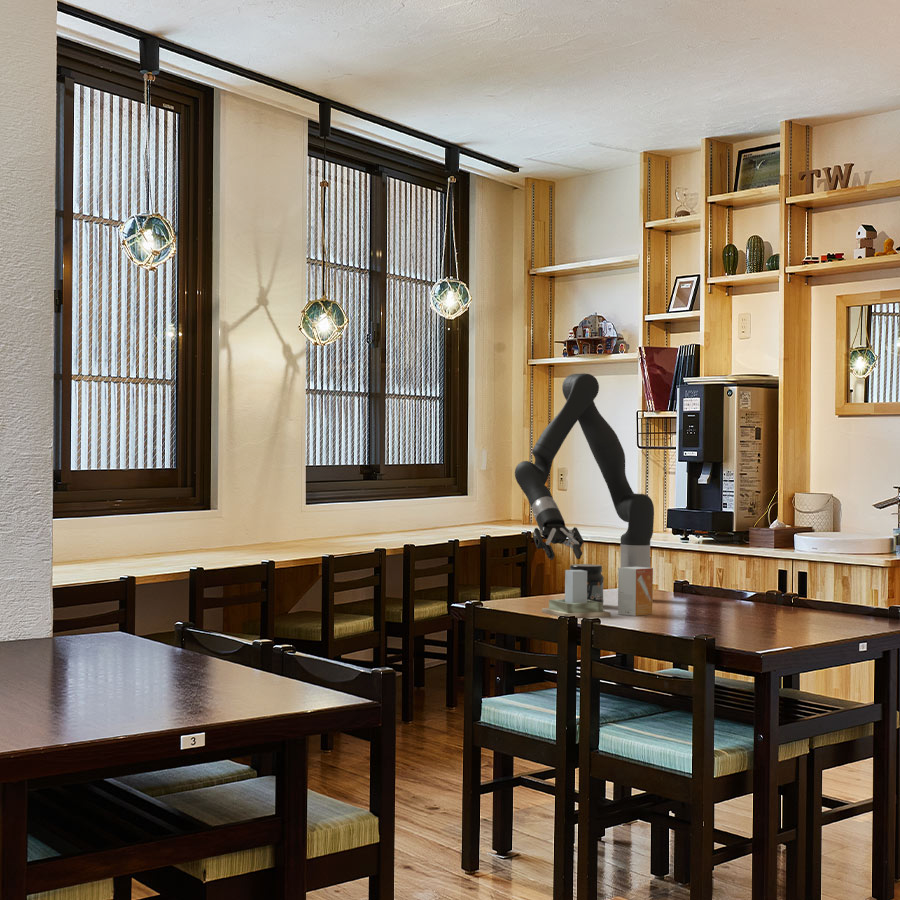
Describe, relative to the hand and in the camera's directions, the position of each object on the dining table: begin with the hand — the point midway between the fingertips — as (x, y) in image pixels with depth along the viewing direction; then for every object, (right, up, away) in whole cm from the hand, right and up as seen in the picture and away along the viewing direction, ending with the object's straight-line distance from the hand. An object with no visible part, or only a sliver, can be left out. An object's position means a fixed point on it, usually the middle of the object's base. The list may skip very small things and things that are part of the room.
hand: (566, 557), depth 309 cm
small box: (+19, -15, -5) cm, 25 cm away
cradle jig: (+2, -15, -6) cm, 17 cm away
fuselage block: (+2, -14, -6) cm, 16 cm away
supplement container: (+7, -16, +15) cm, 23 cm away
